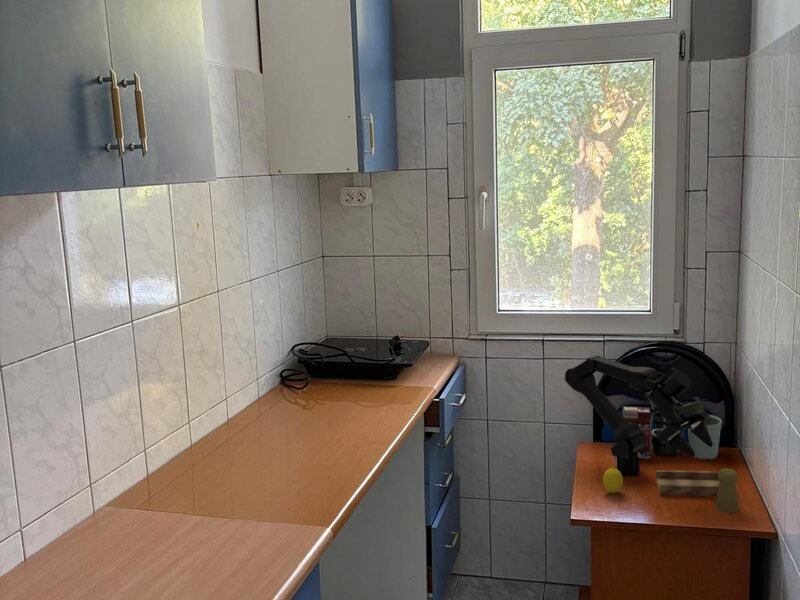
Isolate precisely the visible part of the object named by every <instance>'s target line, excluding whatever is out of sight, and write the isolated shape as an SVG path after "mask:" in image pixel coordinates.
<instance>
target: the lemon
mask: <svg viewBox="0 0 800 600" xmlns="http://www.w3.org/2000/svg"><path fill="white" fill-rule="evenodd" d="M623 477H624V476H622V474H621V472H620V471H619V470H617V469H616V468H615V467H611V468H608V469H606V470H605V472H604V474H603V479H602V480H603V486H604V488H605V489H606V490H607V491H608V492H610V493H612V494H615V493H617V492H619V491H621V489H622V488H623V484H624V479H623Z"/></svg>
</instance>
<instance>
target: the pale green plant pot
mask: <svg viewBox="0 0 800 600" xmlns="http://www.w3.org/2000/svg"><path fill="white" fill-rule="evenodd" d="M706 419H707V418H706ZM722 423H723V420H722V419H721V418H720V417H718V416H716V415H712V414H709V417H708V421H707V430H708V433H709V435H710V438H711V440H712V443H713V446H712V447H709V446H708V445H706V444H705V443H704V442H703V441H702V440H700V439H699V438H698V437H697V436H695V435H694V434H693V433H692V432H691V430H692V429H693V428H692V429H690V428H688V427H687V428H688V429H687V433H688V434H687V435H688V444H689V445H690V446H691V448H692V449H693V451H694V453H695V456H693V457H692V458H694V457H695V458H694V459H696V458H699V459H698V460H702V459H710V460H714V459H716V458H717V457H718V455H719V444H720V440H721V439H720V436H721V429H722ZM715 457H716V458H715ZM713 458H714V459H713Z"/></svg>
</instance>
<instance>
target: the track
mask: <svg viewBox="0 0 800 600" xmlns="http://www.w3.org/2000/svg"><path fill="white" fill-rule="evenodd" d="M718 472H719V471H712V470H711V471H707V470H668V469H667V470H665V469H662V470H661V469H656V470H655V482H656V487H657V489H658V493H659V496H676V497H677V496H678V497H679V496H682V497H683V496H685V497H711V496H712V498H713V496H716V497H715V498H717V494H718V488H719V483H720V481H719V480H718Z"/></svg>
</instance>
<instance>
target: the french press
mask: <svg viewBox="0 0 800 600" xmlns="http://www.w3.org/2000/svg"><path fill="white" fill-rule="evenodd" d="M657 387H660V385H658V386H657ZM675 400H676V401H677V403H678V402H680V401H679V400H677V399H675ZM649 402H650V404H651V409H652V411H654V412H651V432H650V454H652V455H653V456H656V457H662V458H670V457H671V458H672V457H676V456H678V455H680V452H681V450H679V449H677V448H675V447H673V446H670V445H668V444H667V445H666V444H665V443H666V442H667V441H666V442H664V443H661V442H660V441H659V440H658V433H659V432H661V431H662V430H663V429H664V428H665V427H666V426H668V425H669V424H668V422H667V421H666V420H665V419H664V418H662V419H660V417H659V416H660V415H661V414H660V412H659V411H658V410H657V408H656V407H655V406H654V405H653V403H652V402H651V401H649ZM654 418H655V419H654ZM653 424H655V428H653Z"/></svg>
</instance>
